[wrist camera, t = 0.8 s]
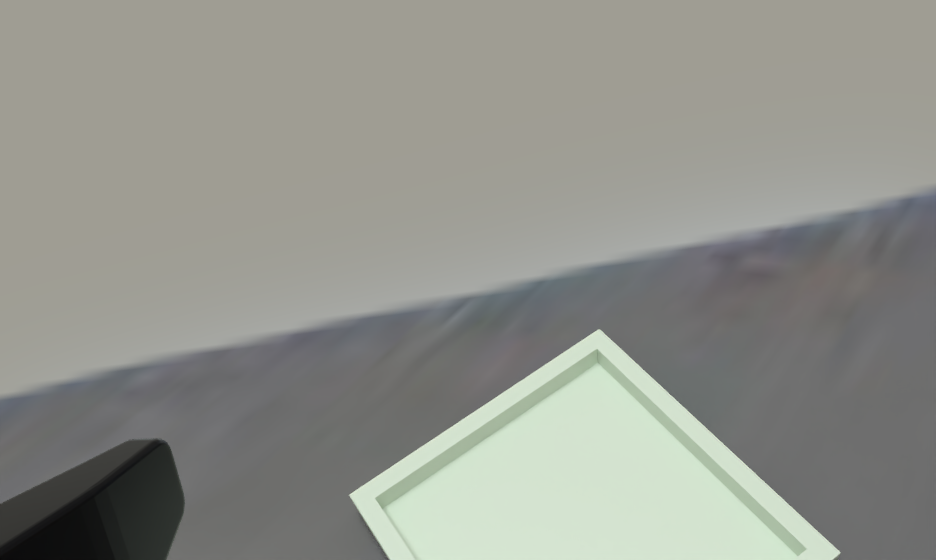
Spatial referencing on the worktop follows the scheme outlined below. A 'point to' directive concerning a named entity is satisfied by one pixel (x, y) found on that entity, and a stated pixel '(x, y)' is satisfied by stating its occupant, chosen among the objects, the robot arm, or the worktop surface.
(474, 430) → the tray
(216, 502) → the worktop surface
